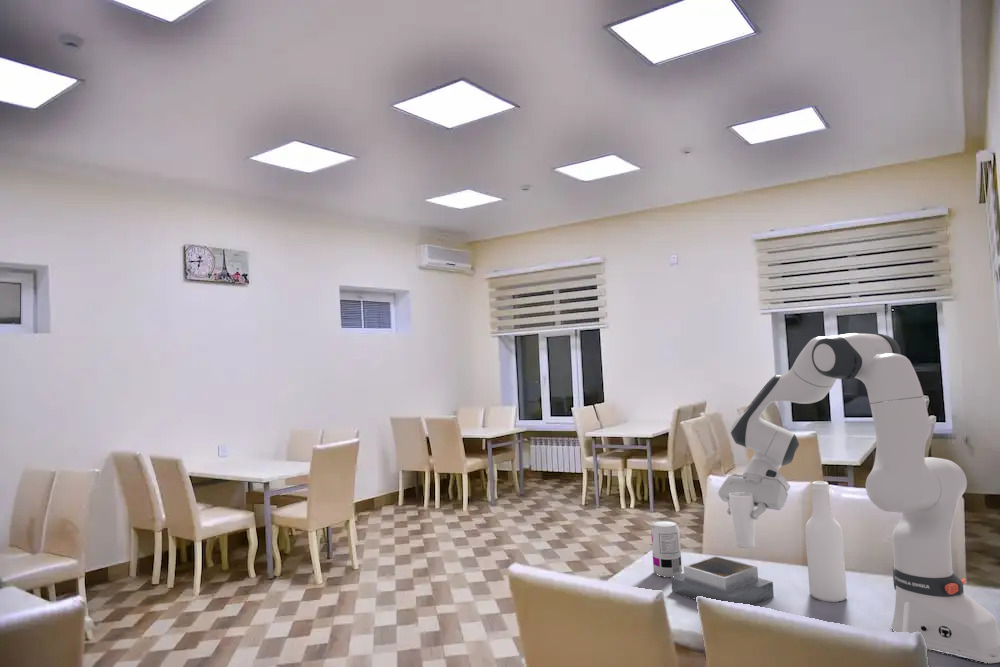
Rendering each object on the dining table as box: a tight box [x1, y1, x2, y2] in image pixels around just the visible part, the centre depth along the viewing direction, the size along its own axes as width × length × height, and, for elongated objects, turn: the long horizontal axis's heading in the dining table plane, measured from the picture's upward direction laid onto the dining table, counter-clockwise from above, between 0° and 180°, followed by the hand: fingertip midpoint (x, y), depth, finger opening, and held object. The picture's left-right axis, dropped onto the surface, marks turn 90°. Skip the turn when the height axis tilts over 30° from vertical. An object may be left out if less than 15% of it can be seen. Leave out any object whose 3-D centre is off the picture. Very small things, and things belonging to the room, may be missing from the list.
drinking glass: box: [729, 492, 756, 550], centre depth 186 cm, size 7×7×15 cm
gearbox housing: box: [670, 555, 775, 606], centre depth 175 cm, size 20×17×8 cm
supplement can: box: [650, 520, 683, 578], centre depth 194 cm, size 8×8×15 cm
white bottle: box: [804, 480, 848, 603], centre depth 170 cm, size 9×9×30 cm
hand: (741, 516), depth 186 cm, fingers closed on drinking glass, 6 cm apart
